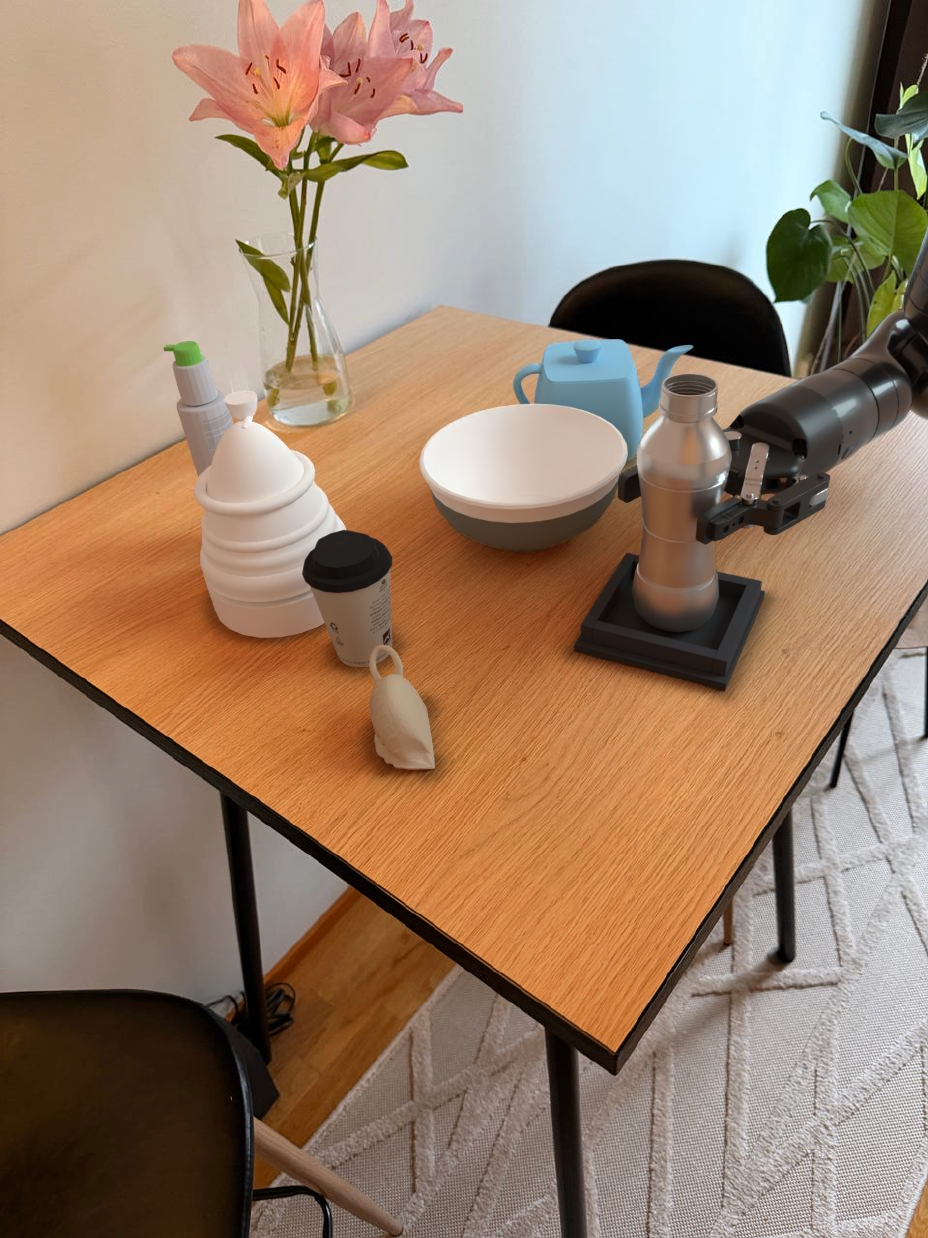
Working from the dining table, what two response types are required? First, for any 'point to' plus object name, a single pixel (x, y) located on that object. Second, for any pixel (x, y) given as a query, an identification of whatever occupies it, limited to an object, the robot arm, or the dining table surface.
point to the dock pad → (674, 654)
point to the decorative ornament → (399, 718)
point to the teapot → (599, 383)
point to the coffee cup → (352, 593)
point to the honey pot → (260, 528)
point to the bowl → (524, 474)
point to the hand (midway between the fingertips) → (659, 510)
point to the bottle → (199, 403)
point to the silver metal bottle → (680, 505)
